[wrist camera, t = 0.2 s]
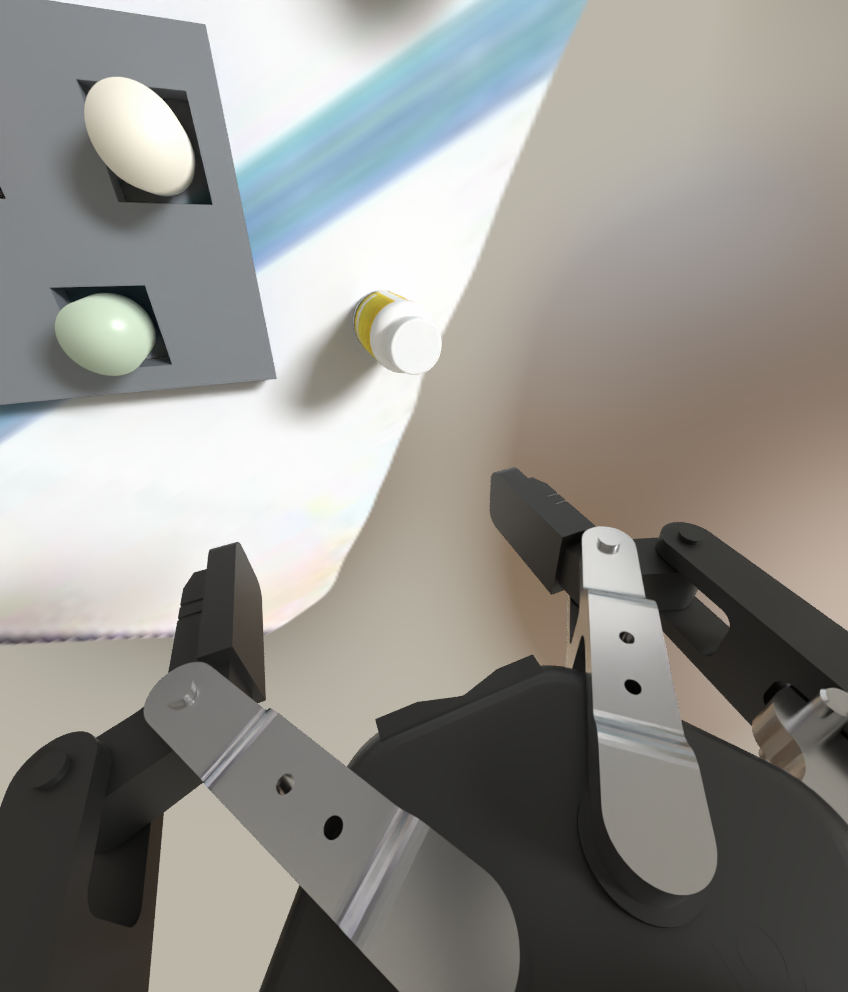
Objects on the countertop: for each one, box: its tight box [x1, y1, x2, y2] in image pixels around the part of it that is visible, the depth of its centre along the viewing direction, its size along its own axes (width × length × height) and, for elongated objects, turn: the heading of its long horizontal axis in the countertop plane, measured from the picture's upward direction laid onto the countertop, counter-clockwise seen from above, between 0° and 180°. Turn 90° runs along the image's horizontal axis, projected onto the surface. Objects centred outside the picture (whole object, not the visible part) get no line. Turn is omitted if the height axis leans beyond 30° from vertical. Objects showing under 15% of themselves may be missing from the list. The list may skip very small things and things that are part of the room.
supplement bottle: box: [353, 290, 441, 375], centre depth 32 cm, size 5×5×10 cm
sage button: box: [55, 292, 156, 376], centre depth 27 cm, size 5×5×4 cm
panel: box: [0, 0, 277, 405], centre depth 26 cm, size 20×20×2 cm
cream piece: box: [84, 77, 196, 196], centre depth 23 cm, size 5×5×4 cm
